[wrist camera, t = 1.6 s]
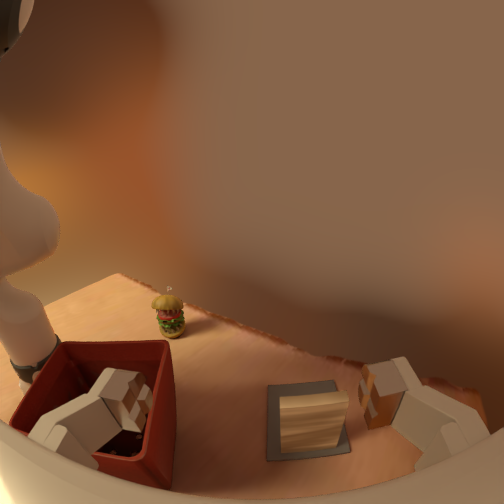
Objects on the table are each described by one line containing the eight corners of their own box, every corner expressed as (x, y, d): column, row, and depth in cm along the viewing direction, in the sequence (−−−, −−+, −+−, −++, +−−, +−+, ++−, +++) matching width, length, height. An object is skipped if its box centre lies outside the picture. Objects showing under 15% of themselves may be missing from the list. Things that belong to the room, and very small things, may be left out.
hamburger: (155, 339, 60) (142, 296, 57) (166, 323, 67) (156, 282, 63) (183, 342, 59) (172, 297, 55) (193, 325, 66) (184, 282, 62)
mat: (349, 452, 29) (350, 451, 29) (266, 461, 30) (266, 460, 29) (333, 381, 44) (333, 379, 44) (268, 386, 45) (267, 385, 45)
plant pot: (100, 409, 38) (60, 339, 33) (195, 412, 39) (169, 337, 34) (74, 489, 20) (5, 426, 15) (193, 510, 21) (144, 462, 16)
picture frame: (335, 447, 30) (349, 400, 26) (281, 453, 30) (279, 408, 26) (334, 436, 32) (346, 388, 28) (280, 442, 32) (279, 395, 28)
